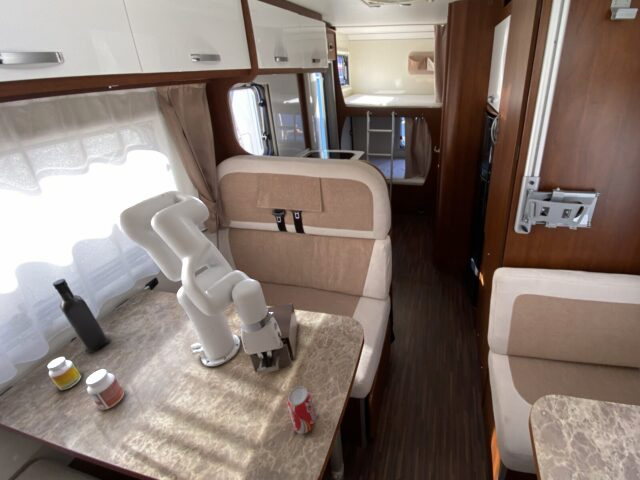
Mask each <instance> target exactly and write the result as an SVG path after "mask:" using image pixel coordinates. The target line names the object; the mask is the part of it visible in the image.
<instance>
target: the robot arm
mask: <svg viewBox="0 0 640 480" xmlns="http://www.w3.org/2000/svg"><path fill="white" fill-rule="evenodd" d="M209 218H210V211H209V208H208V207H207V205H206V204H205V203H204V202H203V201H202V200H200V199H199V198H197V197H196V196H193V195H189V194H186V193H184V192H181V191H177V190H169V191H166V192H162V193H160V194H157V195H153V196H151V197H148V198H146V199H143V200H140V201H138V202H135V203H133V204H130V205H129V206H126V207H125V208H123V209H122V210H120V211H119V212H118V214H117V215H116V218H115V221H116V224H117V226H118V228H119V230H120V231H121V232H122V234H123V235H124V236H125V237H126V238H128V239H129V240H130V241H132V242H133V243H134V244H136V245H137V246H139V247H140V248H141V249H143V250H144V251H145V252H146V253H147V254H148V255H149V257H150V258H151V260H152V261H153V262H154V263H155V264H156V266H157V267H158V268H159V269H160V271H161V272H162V273H163V274H164V276H165V277H166V278H167V279H168V280H170V281H172V282H179V281H181V286H180V288H179V289H178V291H177V293H176V299H177V301H178V303H179V305H180V306H181V307H182V309H183V310H184V311H185V313H186V314H187V316H188V318H189V320H190V322H191V324H192V327H193V329H194V331H195V333H196V336H197V338H198V341H199V343H198V342H197V343H193V344H191V346H190V347H191V349H190V350H191V351H192V355H193V356H195V355H199V354H200V360H201V363H202V364H203V365H204V366H207V367H218V366H221V365H223V364H225V363H227V362H228V361H230V360H231V359H232V358H233V357H235V356H236V354H237V353H238V351H239V350H240V347H241V343H242V347H243V350H244V352H245V354H246V355H249V356H250V355H253V354H254V355H256V356H259V358H260V359H262V361H263V364H265V367H266V368H268V367H271V366H272V362H274V355H273V353H274V352H275V351H276V349H280V348H282V347H283V342H282V341H281V339H280V338H281V332H280V329H279V326H278V324H277V322H276V320H275V319H274V312H273V313H271V312H269V310H268V309H267V308H268V305H267V302H266V299H265V295H264V292H263V289H262V286H261V283H260V281H258V280H256V279H253V278H250V277H249V276H248V275H247V274H246V272H244V271H241V270H237V269H235V270H234V269H233V268H232V266H231V264H229V262H228V261H227V260H226V258H225V257H224V256H223V254H222V253H221V252H220V250H219V249H218V248H217V246H216V245H215V244H214V243H213V242H212V241H211V240H210V239H208V238H207V236H206V235H205V234H204V233H203V232H202V231H201V230H200V228H199V227H198V225H200V224H202V223H205V222H206V221H207V220H208V219H209ZM204 267H206V268H207V269H205V270H203V271H202V272H201V273H198V274H197V275H196V272H197V271H199V270H200V269H203V268H204ZM232 304H234V306H235V310H236V313H237V315H238V318H239V320H240V324H241V325H240V336H241V339H240V338H239V336H238V335H237V334H234V333H233V332H232V329H231V326H230V324H229V321H228V318H227V315H226V313H225V312H226V311H225V310H226V309H227V308H228V307H230V306H231V305H232Z"/></svg>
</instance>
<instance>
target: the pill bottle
mask: <svg viewBox="0 0 640 480" xmlns="http://www.w3.org/2000/svg"><path fill="white" fill-rule="evenodd" d="M85 383H86V386H87V389H86V391H87V393H88V395H89V396H90V398H91V399H92V401H94V403H95V404H96V406H97V407H98V409H99V410H103V411H105V410H109V409H111V408H113V407H115V406H116V405H117V404H118V403H120V401H122V399H123V397H124V395H125V391H124V389H123V388H122V386H121V384H120V382H118V380H117V378H116V377H115V375H114V374H113V373H110V372H108V371H107V370H106V369H104V368H102V369H99V370H96V371H94V372H92V373H91V374H90V375H89V376H88V377H87V379H86V380H85Z"/></svg>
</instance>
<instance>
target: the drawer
mask: <svg viewBox="0 0 640 480" xmlns="http://www.w3.org/2000/svg"><path fill="white" fill-rule="evenodd" d="M281 341H282V342H283V347H282V348H280V349H276V351H275V352H274V353H273V355H274V362H272V366H271V367H268V368H266V367H265V364H263V361H262V359H260V358H259V356H256V355H254V354H253V355H249V357H250V362H251V365H252V367H253V369H254V372H255V374H257V375H261V374H266V373H271V372H275V371H279V369H281V368H286V367H291V366H292V364H293V363H292V362H293V361H292V360H291V358H290V350H289V346H288V342H287V339H285V340H281Z"/></svg>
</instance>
